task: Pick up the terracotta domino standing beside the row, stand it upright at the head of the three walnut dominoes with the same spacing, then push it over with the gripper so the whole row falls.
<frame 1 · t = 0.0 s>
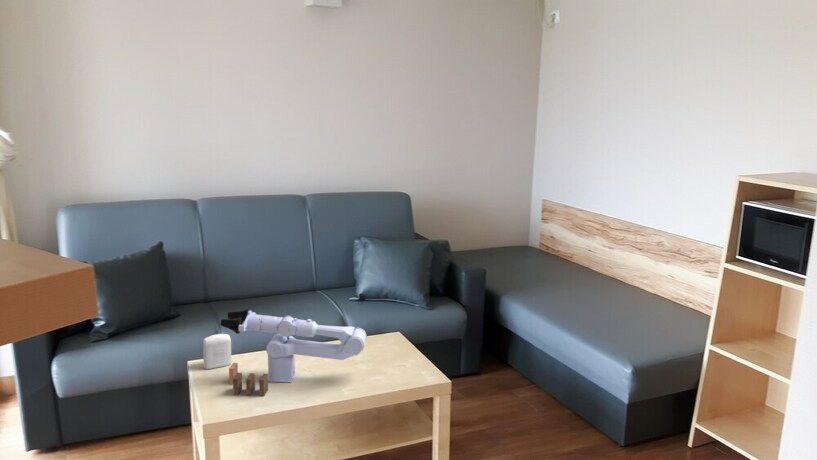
hand: (224, 318, 220), 22 cm above the table, tool horizontal, fingers open, 7 cm apart
walnut domino 2: (237, 392, 212), on the table
white box with text: (217, 366, 233), on the table
terracotta domino: (233, 381, 220), on the table
walnut domino 3: (250, 392, 212), on the table
walnut domino 4: (263, 393, 212), on the table
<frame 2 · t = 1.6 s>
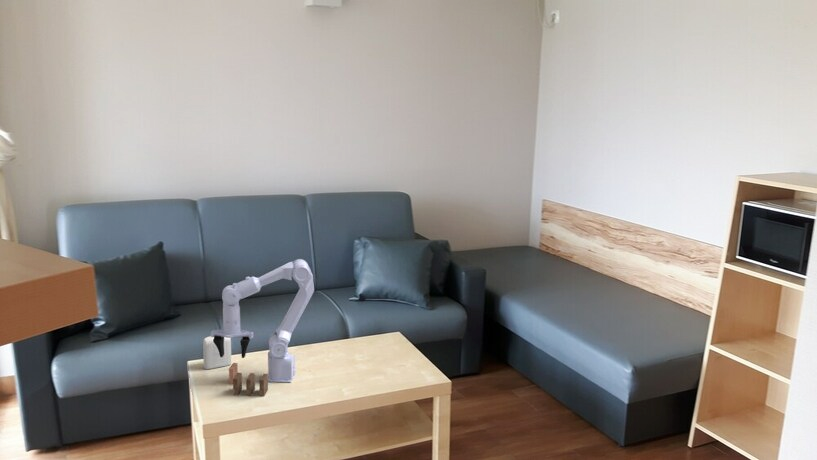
hand: (232, 356, 218), 9 cm above the table, tool pointing down, fingers open, 7 cm apart
nothing on the table moved.
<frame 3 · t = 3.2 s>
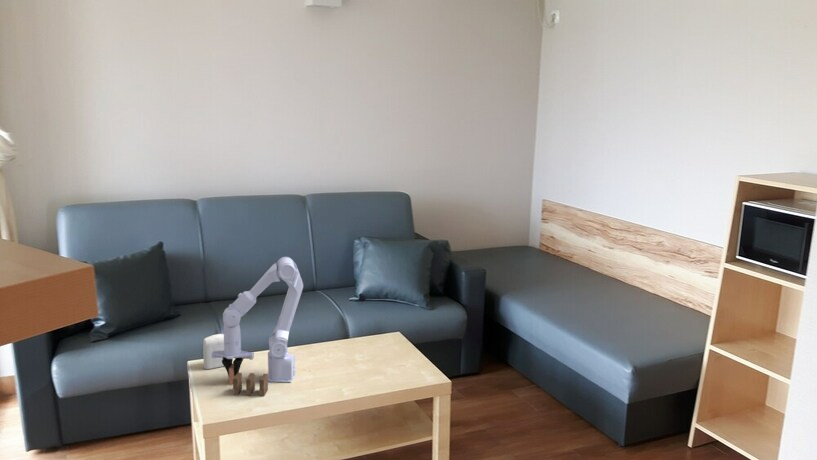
hand: (233, 377, 220), 2 cm above the table, tool pointing down, fingers closed on terracotta domino, 1 cm apart
terracotta domino: (233, 381, 220), on the table, touching gripper
everything else where it was.
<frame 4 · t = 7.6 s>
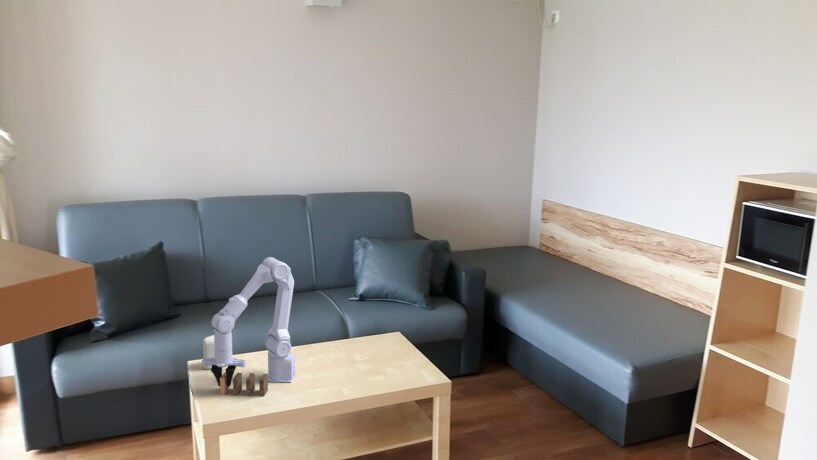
hand: (224, 385, 212), 2 cm above the table, tool pointing down, fingers closed
terracotta domino: (225, 391, 212), on the table
everything else where it was.
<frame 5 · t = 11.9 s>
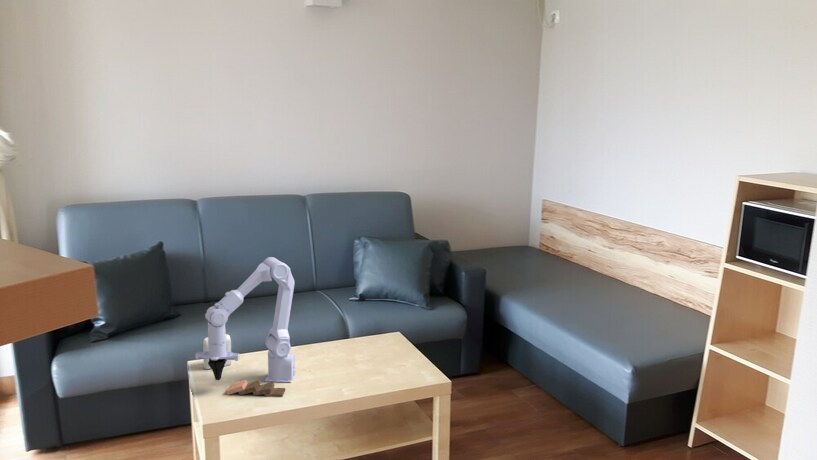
hand: (218, 379, 211), 5 cm above the table, tool pointing down, fingers closed
walnut domino 2: (241, 390, 212), point 1 cm above the table, tilted 71°, touching terracotta domino, walnut domino 3
terracotta domino: (228, 389, 212), point 1 cm above the table, tilted 69°, touching walnut domino 2
walnut domino 3: (255, 390, 212), point 1 cm above the table, tilted 76°, touching walnut domino 2
walnut domino 4: (266, 392, 212), on the table, tilted 90°
everything else where it was.
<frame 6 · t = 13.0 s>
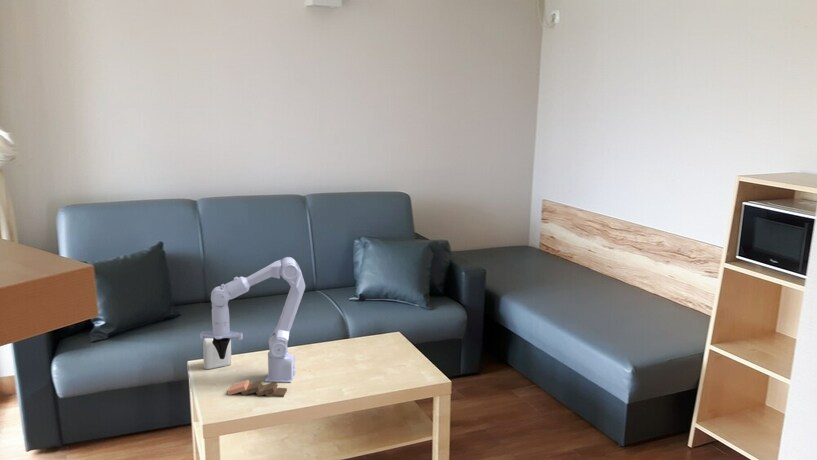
hand: (222, 357, 217), 9 cm above the table, tool pointing down, fingers closed
walnut domino 3: (258, 390, 212), point 1 cm above the table, tilted 73°, touching walnut domino 2
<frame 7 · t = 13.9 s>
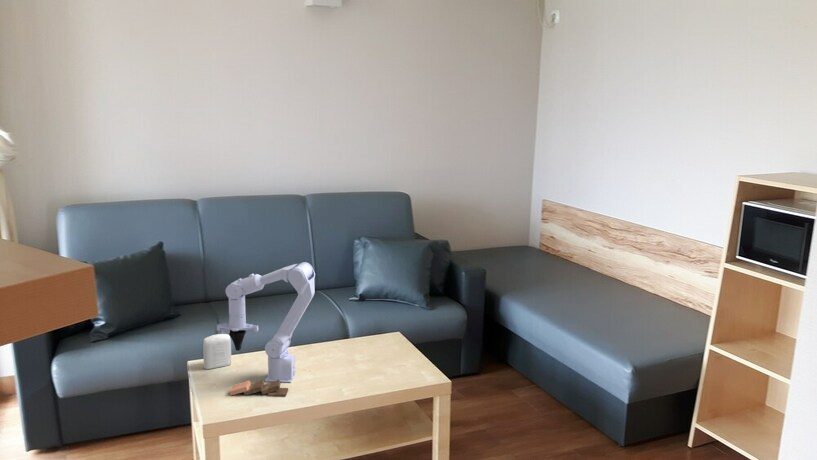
hand: (238, 349, 225), 9 cm above the table, tool pointing down, fingers closed
walnut domino 2: (245, 390, 212), point 1 cm above the table, tilted 72°, touching terracotta domino
terracotta domino: (231, 390, 212), point 1 cm above the table, tilted 72°, touching walnut domino 2
walnut domino 3: (262, 389, 212), point 1 cm above the table, tilted 73°
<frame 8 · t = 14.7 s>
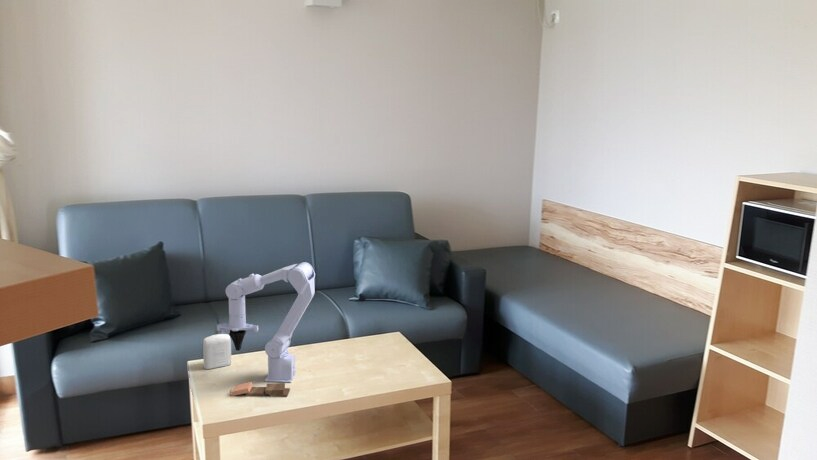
hand: (238, 349, 225), 9 cm above the table, tool pointing down, fingers closed
walnut domino 2: (248, 391, 212), on the table, tilted 89°
terracotta domino: (233, 390, 211), point 1 cm above the table, tilted 75°
walnut domino 3: (266, 388, 211), point 2 cm above the table, tilted 89°, touching walnut domino 4
walnut domino 4: (271, 393, 212), on the table, tilted 90°, touching walnut domino 3
everything else where it was.
at the end: walnut domino 4 tilted 90°; walnut domino 2 tilted 90°; terracotta domino inside the target area (2.2 cm from its centre), point 0.6 cm above the table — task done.
